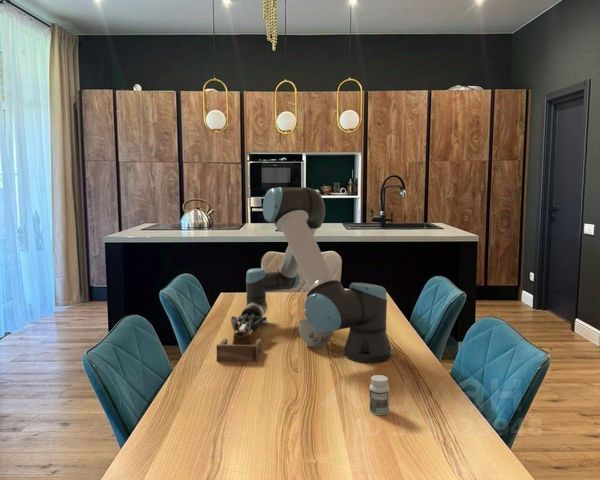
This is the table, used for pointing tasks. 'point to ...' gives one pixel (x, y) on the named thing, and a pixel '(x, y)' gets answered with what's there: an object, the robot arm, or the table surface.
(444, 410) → the table surface
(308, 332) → the teacup
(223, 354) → the walnut corral
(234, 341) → the utensil holder
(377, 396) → the pill bottle
